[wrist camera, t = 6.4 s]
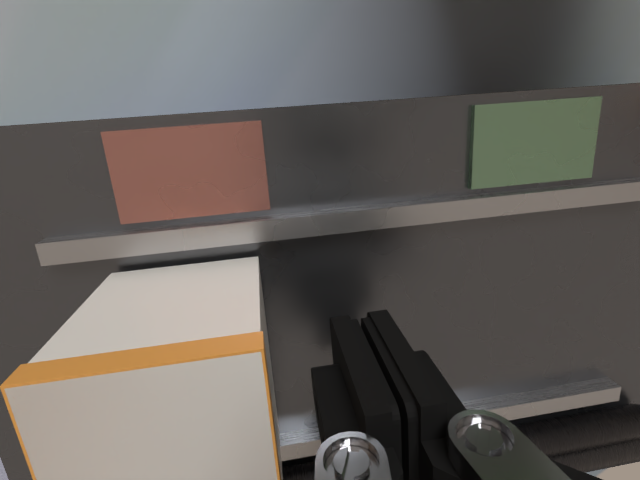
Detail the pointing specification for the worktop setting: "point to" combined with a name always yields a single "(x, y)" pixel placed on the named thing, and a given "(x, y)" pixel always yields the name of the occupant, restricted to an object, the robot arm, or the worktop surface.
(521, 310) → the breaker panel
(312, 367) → the robot arm
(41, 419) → the block
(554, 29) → the worktop surface
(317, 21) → the worktop surface
